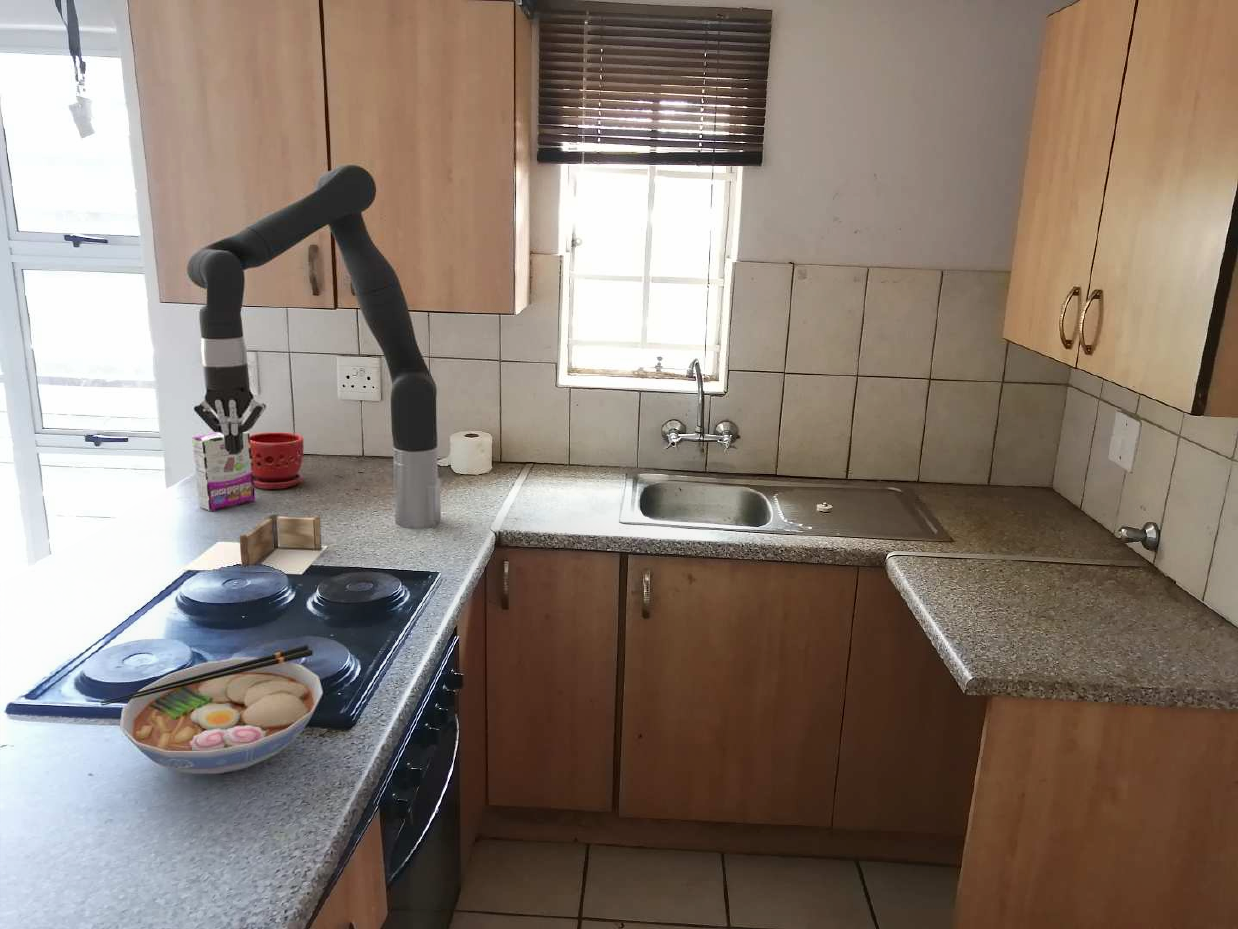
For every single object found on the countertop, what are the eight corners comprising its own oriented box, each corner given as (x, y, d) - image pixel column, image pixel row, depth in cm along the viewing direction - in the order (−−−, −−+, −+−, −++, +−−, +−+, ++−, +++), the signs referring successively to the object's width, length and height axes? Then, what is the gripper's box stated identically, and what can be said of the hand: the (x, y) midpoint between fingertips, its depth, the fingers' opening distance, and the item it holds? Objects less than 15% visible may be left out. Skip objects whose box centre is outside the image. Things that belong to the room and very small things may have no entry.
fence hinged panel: (268, 548, 179) (266, 517, 178) (274, 548, 179) (272, 517, 177) (240, 569, 168) (238, 536, 166) (246, 569, 168) (244, 537, 166)
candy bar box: (243, 496, 212) (238, 428, 208) (255, 501, 210) (250, 431, 205) (197, 507, 204) (191, 436, 200) (209, 512, 201) (203, 440, 197)
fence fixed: (322, 548, 181) (321, 515, 179) (320, 550, 180) (318, 518, 178) (271, 546, 181) (269, 513, 179) (268, 548, 180) (266, 516, 178)
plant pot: (287, 494, 216) (284, 445, 213) (237, 489, 218) (233, 440, 215) (315, 479, 228) (313, 433, 225) (267, 475, 230) (264, 428, 227)
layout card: (328, 547, 182) (327, 545, 182) (301, 576, 168) (301, 573, 168) (218, 543, 182) (218, 541, 182) (182, 571, 168) (182, 569, 168)
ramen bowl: (132, 841, 97) (124, 773, 95) (101, 740, 115) (94, 681, 112) (361, 767, 111) (358, 707, 109) (302, 688, 129) (299, 635, 127)
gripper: (268, 358, 170) (277, 448, 175) (197, 358, 170) (207, 448, 175) (254, 365, 163) (263, 458, 168) (179, 365, 163) (190, 458, 167)
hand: (235, 453), depth 171 cm, fingers closed
